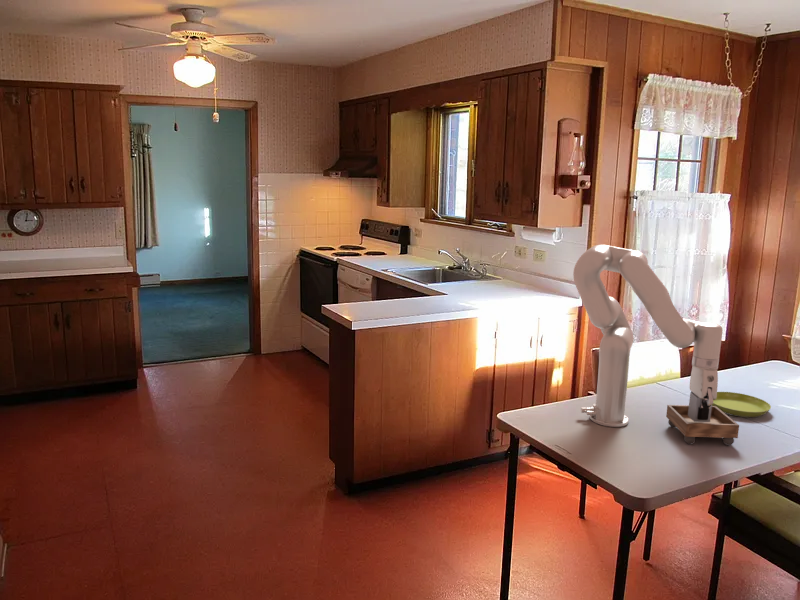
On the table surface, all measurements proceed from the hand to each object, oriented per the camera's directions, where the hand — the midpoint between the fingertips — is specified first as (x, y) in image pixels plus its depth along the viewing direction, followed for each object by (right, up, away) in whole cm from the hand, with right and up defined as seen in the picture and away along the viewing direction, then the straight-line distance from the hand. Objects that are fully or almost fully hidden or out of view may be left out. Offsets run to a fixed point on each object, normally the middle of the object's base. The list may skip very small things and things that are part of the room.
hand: (698, 415), depth 208 cm
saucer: (+26, -3, +25) cm, 36 cm away
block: (0, -1, 0) cm, 1 cm away
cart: (+1, -7, +1) cm, 7 cm away
